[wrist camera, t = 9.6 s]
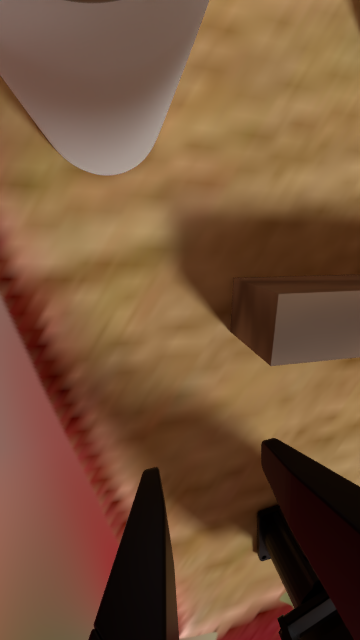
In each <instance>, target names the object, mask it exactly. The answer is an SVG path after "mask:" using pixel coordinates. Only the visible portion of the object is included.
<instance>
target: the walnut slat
mask: <svg viewBox="0 0 360 640" xmlns="http://www.w3.org/2000/svg"><path fill="white" fill-rule="evenodd" d="M230 332H231V333H233V334H234V335H235V336H236V337H237V338H238V339H240V340H241V341H242V342H243V343H244V344H245V345H247V346H248V347H249V348H250V349H251V350H253V351H254V352H255V353H256V354H257V355H258V356H260V357H261V358H262V359H263V360H264V361H265V362H267V363H268V364H269V365H270V366H276V365H286V364H296V363H306V362H316V361H326V360H336V359H346V358H356V357H360V274H359V275H323V276H286V277H250V278H234V281H233V297H232V314H231V331H230Z"/></svg>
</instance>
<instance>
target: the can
mask: <svg viewBox="0 0 360 640" xmlns="http://www.w3.org/2000/svg"><path fill="white" fill-rule="evenodd" d="M208 2H209V0H0V76H1V77H2V78H3V80H4V81H5V82H6V84H7V85H8V87H9V88H10V89H11V91H12V92H13V93H14V95H15V96H16V97H17V99H18V100H19V102H20V103H21V104H22V106H23V107H24V108H25V110H26V111H27V112H28V114H29V115H30V117H31V118H32V119H33V121H34V122H35V123H36V125H37V126H38V127H39V129H40V130H41V131H42V133H43V134H44V135H45V137H46V138H47V139H48V141H49V142H50V143H51V144H52V146H53V147H54V148H55V149H56V150H57V151H58V152H59V154H61V155H62V156H63V157H64V158H65V159H66V160H67V161H69V162H70V163H71V164H73V165H75V166H76V167H78V168H80V169H82V170H84V171H87V172H90V173H93V174H98V175H117V174H121V173H124V172H127V171H129V170H131V169H133V168H134V167H136V166H137V165H139V164H140V163H141V162H142V161H143V160H144V159H145V158H146V157H147V155H148V154H149V153H150V151H151V149H152V148H153V146H154V144H155V142H156V139H157V137H158V135H159V132H160V130H161V127H162V125H163V122H164V119H165V117H166V114H167V112H168V109H169V107H170V104H171V101H172V99H173V96H174V94H175V91H176V88H177V86H178V83H179V81H180V78H181V75H182V73H183V70H184V68H185V65H186V62H187V60H188V57H189V54H190V52H191V49H192V46H193V44H194V41H195V38H196V36H197V33H198V30H199V27H200V25H201V22H202V19H203V17H204V14H205V11H206V8H207V5H208Z"/></svg>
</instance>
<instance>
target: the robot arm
mask: <svg viewBox="0 0 360 640" xmlns="http://www.w3.org/2000/svg"><path fill="white" fill-rule="evenodd" d="M261 463H262V468H263V471H264V473H265V475H266V477H267V480H268V482H269V484H270V486H271V488H272V490H273V493H274V495H275V497H276V499H277V501H278V504H279V506H275V507H272V508H269V509H265V510H262V511H260V512H259V513H258V514H257V540H258V557H259V559H260V561H265V560H268V559H272V561H273V564H274V566H275V568H276V570H277V572H278V574H279V576H280V578H281V580H282V583H283V585H284V587H285V589H286V591H287V593H288V595H289V597H290V599H291V602H292V604H293V606H294V608H295V609H293V610H292V611H290V612H289V613H287V614H286V615H281V616H280V617H279V618H277V619H278V622H279V625H280V628H281V629H280V631H279V635H280V637H281V640H360V487H359V486H358V485H356V484H354V483H352V482H351V481H349V480H347V479H346V478H344V477H342V476H340V475H339V474H337V473H335V472H333V471H332V470H330V469H328V468H327V467H325V466H323V465H321V464H320V463H318V462H316V461H314V460H313V459H311V458H309V457H308V456H306V455H304V454H302V453H301V452H299V451H297V450H295V449H294V448H292V447H290V446H289V445H287V444H285V443H283V442H282V441H280V440H278V439H276V438H272V439H268V440H264V441H262V444H261ZM94 628H95V629H93V630H92V631H91V634H90V637H89V640H179V632H178V616H177V601H176V586H175V571H174V561H173V553H172V547H171V540H170V533H169V527H168V520H167V513H166V507H165V500H164V495H163V489H162V483H161V478H160V472H159V468H158V467H154V468H150V469H146V470H145V471H144V472H143V474H142V477H141V480H140V483H139V486H138V489H137V493H136V496H135V499H134V502H133V505H132V508H131V511H130V514H129V517H128V520H127V523H126V526H125V529H124V533H123V536H122V539H121V542H120V545H119V548H118V551H117V554H116V558H115V560H114V563H113V566H112V569H111V573H110V576H109V579H108V582H107V585H106V588H105V591H104V594H103V597H102V600H101V603H100V607H99V610H98V613H97V616H96V619H95V622H94Z"/></svg>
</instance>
